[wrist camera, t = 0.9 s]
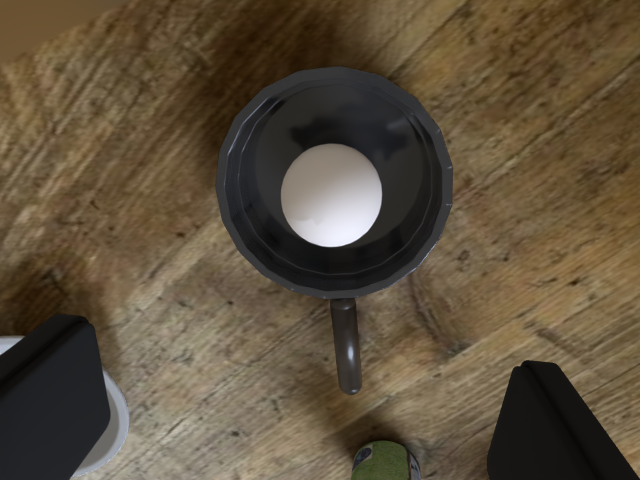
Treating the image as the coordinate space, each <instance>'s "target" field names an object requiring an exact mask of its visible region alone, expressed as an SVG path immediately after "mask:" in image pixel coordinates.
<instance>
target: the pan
mask: <svg viewBox="0 0 640 480" xmlns="http://www.w3.org/2000/svg"><path fill="white" fill-rule="evenodd" d="M329 143H330V144H342V145H345V146H348V147H351V148H354V149H356V150H357V151H359V152H360V153H362V154H363V155H364V156H365V157H366V158H367V159H368V160H369V161H370V162H371V163H372V164H373V166H374V168H375V169H376V171H377V173H378V176H379V179H380V182H381V189H382V200H381V207H380V210H379V214H378V216H377V218H376V220H375V222H374V223H373V225H372V226H371V227H370V229H369V230H368V231H367V232H366V233H365V234H364V235H363V236H361V237H360V238H359V239H357V240H356V241H354V242H352V243H350V244H346V245H343V246H338V247H326V246H319V245H316V244H313V243H310V242H308V241H307V240H305V239H304V238H302V237H300V236H299V235H298V234H297V233H296V232H295V231H294V230H293V229H292V228H291V226H290V225H289V223H288V222H287V220H286V217H285V215H284V213H283V209H282V203H281V188H282V183H283V179H284V177H285V175H286V173H287V170H288V169H289V167H290V166H291V164H292V163H293V161H294V160H295V159H297V158H298V157H299V156H300V155H301V154H302V153H303V152H305V151H306V150H308V149H310V148H312V147H315V146H318V145H323V144H329ZM215 186H216V193H217V198H218V202H219V207H220V212H221V217H222V221H223V223H224V225H225V227H226V229H227V231H228V232H229V234H230V236H231V238H232V240H233V242H234V243H235V245H236V247H237V249H238V251H239V252H240V253H241V254H242V255H243V256H244V257H245V258H246V259H247V260H248V261H249V262H250V263H251V264H252V265H253V266H254V267H255V268H256V269H257V270H258V271H259V272H260V273H261V274H262V275H263V276H265V277H267V278H269V279H271V280H272V281H274V282H276V283H278V284H280V285H281V286H283V287H285V288H287V289H289V290H290V291H293V292H296V293H301V294H305V295H309V296H313V297H318V298H322V299H336V298H357V297H361V296H364V295H367V294H370V293H373V292H376V291H379V290H382V289H385V288H388V287H390V286H392V285H393V284H395V283H396V282H398V281H399V280H400V279H402V278H403V277H405V276H406V275H408V274H409V273H410V272H412V271H413V270H415V269H416V268H417V267H419V265H420V264H421V263H422V262H423V260H424V259H425V258H426V256H427V255H428V254H429V253H430V251H431V250H432V249H433V247H434V246H435V245H436V243H437V242H438V241H439V239H440V237H441V235H442V232H443V229H444V226H445V223H446V221H447V218H448V215H449V212H450V210H451V207H452V189H453V167H452V163H451V160H450V157H449V154H448V150H447V147H446V144H445V141H444V138H443V135H442V132H441V130H440V128H439V127H438V125H437V124H436V123H435V122H434V120H433V119H432V118H431V116H430V115H429V114H428V113H427V111H426V110H425V109H424V107H423V106H422V105H421V103H420V102H419V101H418V100H417V98H415V97H414V96H413V95H411V94H410V93H408V92H406V91H405V90H403V89H402V88H400V87H399V86H397V85H396V84H394V83H392V82H391V81H389V80H388V79H386V78H385V77H383V76H380V75H378V74H374V73H370V72H365V71H361V70H357V69H352V68H348V67H344V66H333V67H324V68H316V69H307V70H300V71H297V72H295V73H293V74H291V75H289V76H287V77H285V78H283V79H281V80H279V81H277V82H274V83H272V84H270V85H268V86H266V87H264V88H263V89H261V90H260V91H259V93H258V94H257V95H256V96H255V97H254V98H253V99H252V100H251V101H250V102H249V103H248V104H247V105H246V106H245V107H244V108H243V109H242V110H241V111H240V112H239V113H238V114H237V115H236V117H235V118H234V120H233V122H232V124H231V127H230V129H229V131H228V133H227V135H226V137H225V139H224V142H223V144H222V146H221V148H220V151H219V158H218V167H217V176H216V185H215Z"/></svg>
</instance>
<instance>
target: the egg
mask: <svg viewBox="0 0 640 480" xmlns="http://www.w3.org/2000/svg"><path fill="white" fill-rule="evenodd" d="M381 200H382V189H381V182H380V179H379V176H378V173H377V171H376V169H375V168H374V166H373V164H372V163H371V162H370V161H369V160H368V159H367V158H366V157H365V156H364V155H363V154H362V153H360V152H359V151H357V150H356V149H354V148H351V147H348V146H345V145H342V144H330V143H329V144H323V145H318V146H315V147H312V148H310V149H308V150H306V151H305V152H303V153H302V154H301V155H300V156H299V157H298V158H297V159H295V160H294V161H293V163H292V164H291V166H290V167H289V169H288V170H287V173H286V175H285V177H284V179H283V183H282V188H281V203H282V209H283V213H284V215H285V217H286V220H287V222H288V223H289V225H290V226H291V228H292V229H293V230H294V231H295V232H296V233H297V234H298V235H299V236H300V237H302V238H304V239H305V240H307V241H308V242H310V243H313V244H316V245H319V246H326V247H338V246H343V245H346V244H350V243H352V242H354V241H356V240H357V239H359V238H360V237H361V236H363V235H364V234H365V233H366V232H367V231H368V230H369V229H370V227H371V226H372V225H373V223H374V222H375V220H376V218H377V216H378V214H379V210H380V207H381Z"/></svg>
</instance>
